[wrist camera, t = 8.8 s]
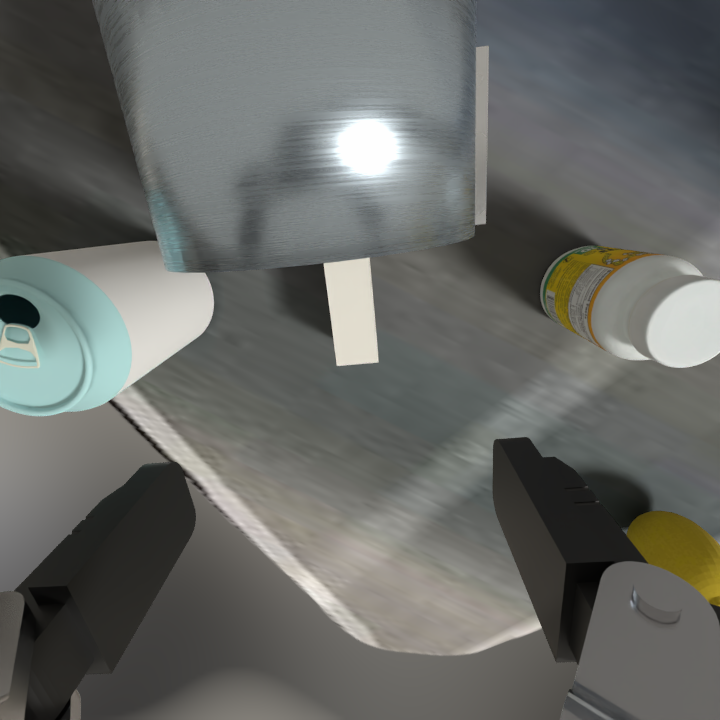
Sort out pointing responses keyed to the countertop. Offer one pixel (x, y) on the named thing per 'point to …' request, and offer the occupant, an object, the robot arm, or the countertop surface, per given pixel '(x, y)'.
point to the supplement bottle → (635, 304)
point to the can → (91, 323)
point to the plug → (352, 311)
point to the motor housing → (302, 126)
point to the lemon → (679, 550)
